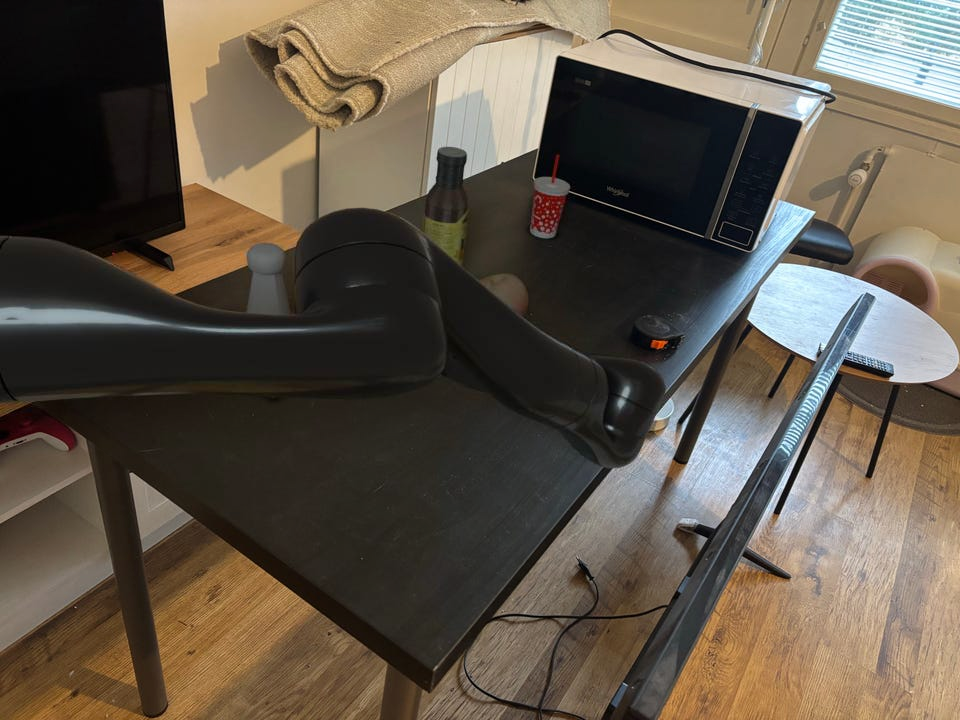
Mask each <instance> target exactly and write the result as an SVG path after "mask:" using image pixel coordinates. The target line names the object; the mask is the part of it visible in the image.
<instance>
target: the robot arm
mask: <svg viewBox="0 0 960 720" xmlns="http://www.w3.org/2000/svg"><path fill="white" fill-rule="evenodd" d="M422 231H423V230H421V229H419V227H417V226H416V225H414V224H413V223H411V222H410V221H408V220H406V219H405V218H403V217H401V216H399V215H397V214H394V213H391V212H388V211H384V210H381V209H378V208H371V207H370V208H369V207H349V208H348V207H347V208H342V209H338V210H334V211H332V212H328V213H326V214H324V215H322V216H320V217H319V218H317V219H315V220H314V221H312V222H311V223H310V224H309V225H307V226H306V227H305V228H304V230H303V231H302V232H301V234H300V236H299V238H298V240H297V242H296V244H295V249H294V253H293V262H292V273H293V274H292V277H293V279H292V280H293V301H294V313H295V314H291V315H273V314H258V313H246V312H245V311H235V310H234V311H233V310H226V309H220V308H215V307H211V306H206V305H203V304H199V303H196V302H193V301H191V300H188V299H185V298H182V297H180V296H177V295H175V294H173V293H171V292H169V291H167V290H165V289H163V288H160V287H159V286H157V285H155V284H154V283H151V282H150V281H147V280H145V279H144V278H142V277H140V276H138V275H136V274H134V273H132V272H131V271H129V270H127V269H125V268H123V267H121V266H119V265H118V264H115V263H113V262H111V261H110V260H108V259H105V258H103V257H101V256H99V255H97V254H95V253H92V252H90V251H88V250H86V249H84V248H80V247H79V246H75V245H72V244H70V243H67V242H64V241H59V240H57V239H52V238H45V237H37V236H36V237H35V236H34V237H33V236H20V235H19V236H18V235H14V236H12V235H0V404H13V403H14V404H15V403H16V404H17V403H32V402H43V401H44V402H45V401H57V400H70V399H85V398H86V399H88V398H89V399H90V398H111V397H137V396H138V397H139V396H172V395H173V396H174V395H175V396H176V395H179V396H180V395H181V396H182V395H210V396H239V397H240V396H241V397H261V398H262V397H263V398H272V397H274V398H290V399H291V398H292V399H314V400H316V399H317V400H371V399H381V398H388V397H389V398H390V397H394V396H400V395H403V394H407V393H411V392H414V391H417V390H419V389H422V388H424V387H426V386H428V385H430V384H432V383H433V382H434V381H435V380H437V379H438V378H439V377H440V376H442V377H444V378H447V379H449V380H451V381H453V382H456V383H458V384H460V385H462V386H463V387H466V388H469V389H471V390H474V391H477V392H481V393H484V394H487V395H489V396H491V397H492V398H493V399H494V400H496V401H497V402H498V403H500V404H501V405H502V406H504V407H505V408H507V409H508V410H510V411H511V412H514V413H516V414H517V415H520V416H522V417H525V418H527V419H530V420H532V421H535V422H538V423H540V424H542V425H546V426H548V427H550V428H553V429H555V430H556V431H557V432H558V433H559V434H560V435H561V436H562V438H564V439H565V441H566V442H568V444H569V445H570V446H571V447H572V448H573V449H574V450H575V451H576V452H577V453H578V454H580V456H582V457H584V459H586V460H587V461H589V462H591V463H592V464H594V465H596V466H599V467H602V468H607V469H620V468H624V467H626V466H628V465H630V464H632V463H633V462H634V461H635V460H636V459H637V458H638V456H639V454H640V453H641V450H642V448H643V447H644V444H645V441H646V439H647V437H648V435H649V432H650V430H651V428H652V425H653V423H654V421H655V419H656V416H657V413H658V412H659V409H660V407H661V405H662V402H663V400H664V398H665V395H666V388H667V387H666V383H665V381H664V379H663V377H662V375H661V374H660V372H659V371H658V370H657V369H656V368H654V367H653V366H652V365H650V364H649V363H647V362H646V361H643V360H640V359H637V358H632V357H626V356H620V355H619V356H618V355H609V354H608V355H607V354H597V353H589V352H584V351H582V350H581V349H578V348H577V347H574V346H573V345H571V344H569V343H567V342H566V341H563V340H562V339H560V338H558V337H557V336H554V335H553V334H550V333H549V332H547V331H545V330H544V329H542V328H541V327H539V326H538V325H536V324H535V323H533V322H531V321H529V320H528V319H527V318H525V316H524V317H523V316H521V315H520V314H519V313H517V312H516V311H515V310H514V309H512V308H511V307H510V306H509V305H507V304H506V303H505V302H504V301H502V300H501V299H500V298H499V297H497V296H496V295H495V294H494V293H493V292H492V291H490V290H489V289H488V288H487V287H486V286H484V285H483V284H482V283H481V282H480V281H479V279H477V278H476V277H475V276H474V275H473V274H471V273H470V272H469V271H468V270H466V269H465V268H464V267H463V265H462V266H461V265H459V264H458V263H457V262H456V261H455V260H454V259H453V258H452V257H450V256H449V255H448V254H447V253H446V252H445V251H444V250H443V249H442V248H440V247H439V246H438V245H437V244H436V243H435V242H434V241H433V240H431V239H430V238H429V237H428V236H427V235H426V234H424V233H423V232H422Z"/></svg>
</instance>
